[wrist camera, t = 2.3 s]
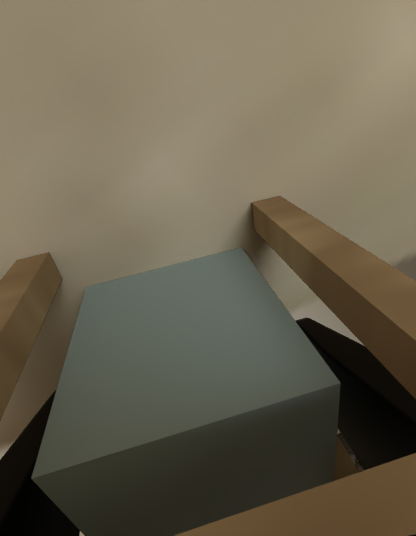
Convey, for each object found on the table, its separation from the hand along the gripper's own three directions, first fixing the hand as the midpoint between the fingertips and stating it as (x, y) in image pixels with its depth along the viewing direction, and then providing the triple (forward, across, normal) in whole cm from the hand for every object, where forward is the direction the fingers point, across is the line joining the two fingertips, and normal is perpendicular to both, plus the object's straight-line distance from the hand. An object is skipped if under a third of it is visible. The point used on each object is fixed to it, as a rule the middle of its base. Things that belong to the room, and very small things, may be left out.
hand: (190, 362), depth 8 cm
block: (+2, 0, 0) cm, 2 cm away
